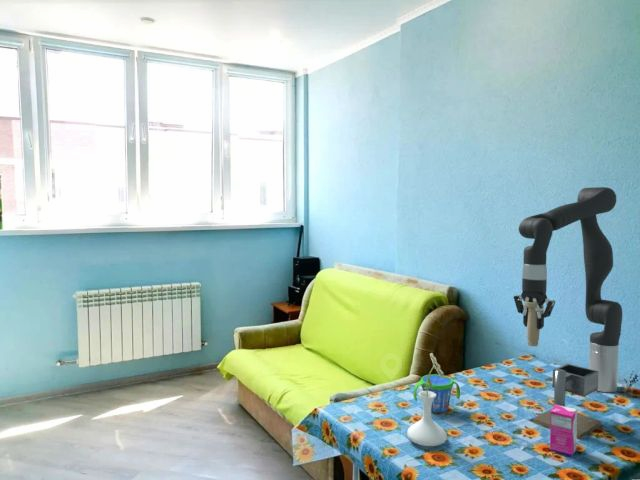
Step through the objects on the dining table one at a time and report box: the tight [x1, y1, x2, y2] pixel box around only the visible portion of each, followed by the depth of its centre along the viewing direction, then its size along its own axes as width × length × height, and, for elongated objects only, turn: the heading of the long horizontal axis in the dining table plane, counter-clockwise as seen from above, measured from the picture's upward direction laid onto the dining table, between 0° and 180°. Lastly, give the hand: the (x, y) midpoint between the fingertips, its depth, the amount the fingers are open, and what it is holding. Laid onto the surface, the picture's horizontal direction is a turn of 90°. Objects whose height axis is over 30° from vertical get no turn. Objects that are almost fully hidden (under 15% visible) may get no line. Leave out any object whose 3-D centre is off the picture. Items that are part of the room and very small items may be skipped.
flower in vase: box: [406, 352, 448, 447], centre depth 137 cm, size 13×11×25 cm
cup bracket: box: [532, 363, 603, 440], centre depth 148 cm, size 17×14×18 cm
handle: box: [523, 300, 545, 347], centre depth 160 cm, size 5×6×15 cm
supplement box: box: [549, 405, 578, 458], centre depth 131 cm, size 6×6×12 cm
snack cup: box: [413, 373, 461, 414], centre depth 159 cm, size 16×10×10 cm
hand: (533, 327), depth 160 cm, fingers closed on handle, 4 cm apart
